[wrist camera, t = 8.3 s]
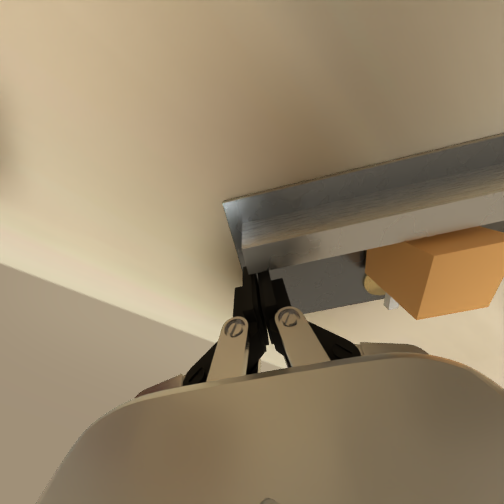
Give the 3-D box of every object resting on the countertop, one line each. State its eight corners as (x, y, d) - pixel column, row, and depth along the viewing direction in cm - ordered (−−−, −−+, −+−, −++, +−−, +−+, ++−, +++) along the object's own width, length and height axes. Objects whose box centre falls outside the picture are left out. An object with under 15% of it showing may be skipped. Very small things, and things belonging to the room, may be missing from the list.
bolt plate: (223, 200, 13) (208, 229, 7) (609, 107, 12) (969, 52, 6) (257, 315, 19) (263, 382, 13) (523, 262, 17) (667, 314, 11)
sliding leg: (368, 224, 13) (434, 256, 8) (425, 211, 13) (523, 238, 8) (362, 304, 17) (406, 356, 12) (406, 296, 16) (468, 346, 12)
